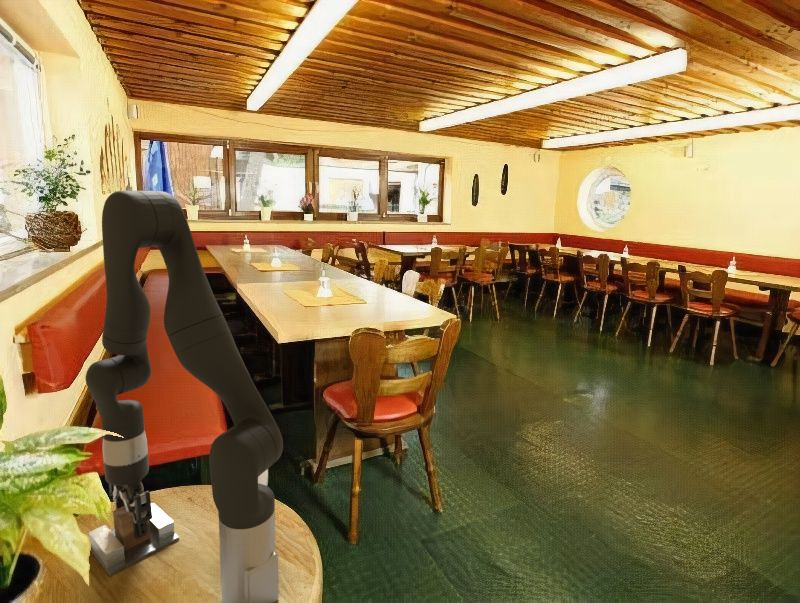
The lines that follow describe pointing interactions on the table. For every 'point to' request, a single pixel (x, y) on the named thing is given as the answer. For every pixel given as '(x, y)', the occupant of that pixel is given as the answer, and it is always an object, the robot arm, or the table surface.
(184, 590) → the table surface
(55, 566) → the table surface
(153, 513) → the grey metal u-shaped piece
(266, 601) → the robot arm
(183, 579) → the table surface
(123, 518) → the walnut wick block
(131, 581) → the table surface
